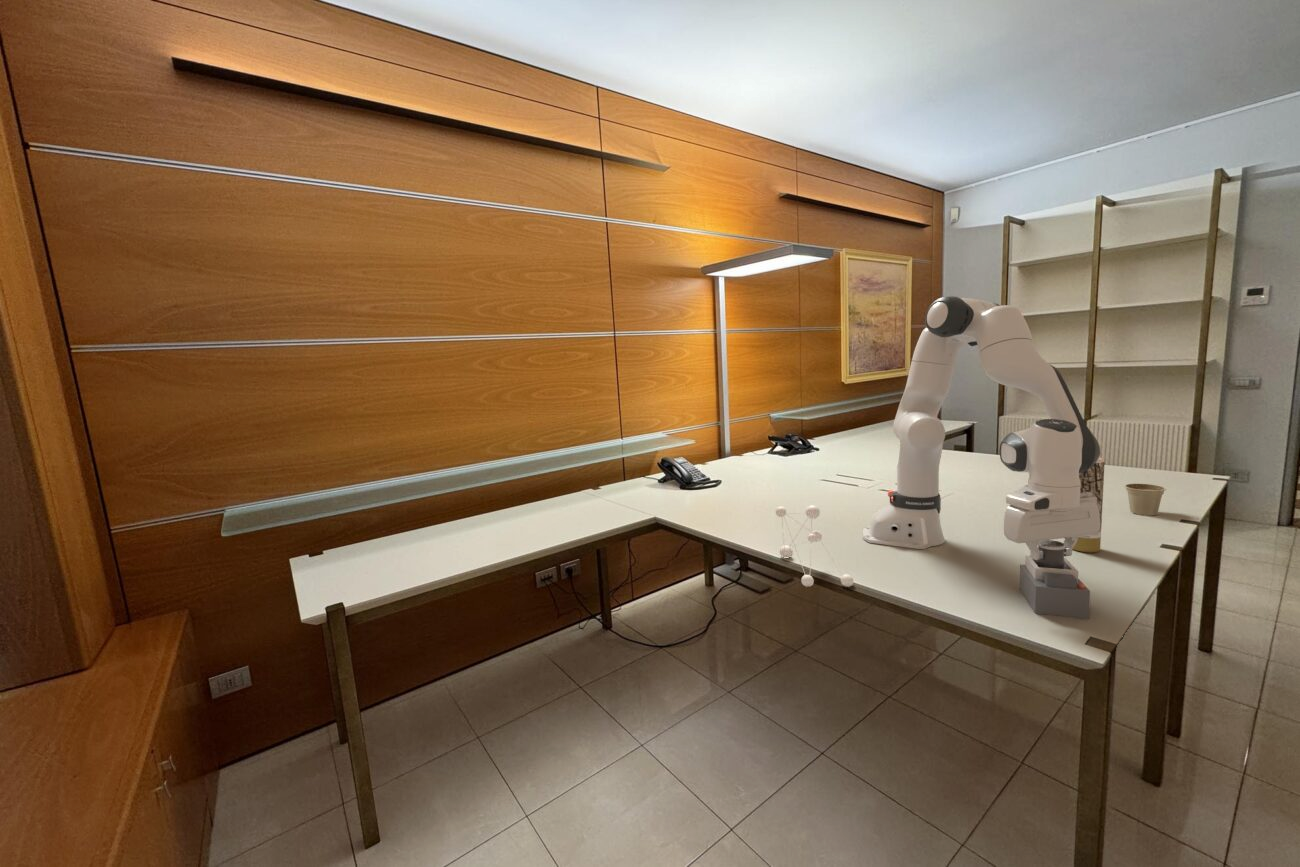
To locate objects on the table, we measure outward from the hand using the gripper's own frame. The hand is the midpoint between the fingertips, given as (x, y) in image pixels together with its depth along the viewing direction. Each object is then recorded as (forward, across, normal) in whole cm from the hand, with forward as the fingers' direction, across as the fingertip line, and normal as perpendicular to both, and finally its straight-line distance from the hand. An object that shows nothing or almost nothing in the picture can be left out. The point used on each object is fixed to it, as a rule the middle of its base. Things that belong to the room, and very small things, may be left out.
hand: (1050, 557), depth 110 cm
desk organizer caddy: (+10, +1, +1) cm, 10 cm away
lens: (+4, 0, 0) cm, 4 cm away
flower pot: (+10, -75, -41) cm, 86 cm away
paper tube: (+10, -32, -22) cm, 41 cm away
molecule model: (+10, +42, -29) cm, 53 cm away
